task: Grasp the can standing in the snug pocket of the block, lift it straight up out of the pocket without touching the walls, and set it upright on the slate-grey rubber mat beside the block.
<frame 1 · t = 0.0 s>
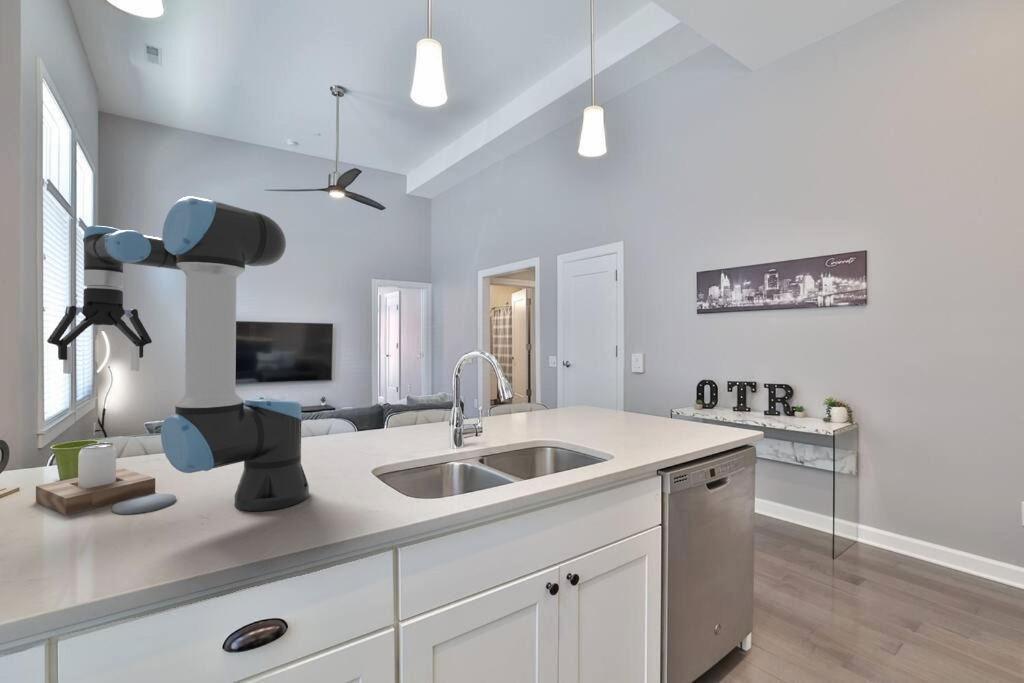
hand: (103, 372, 117), 28 cm above the worktop, fingers open, 13 cm apart
slate mat: (145, 504, 101), on the worktop
can: (97, 497, 106), resting in pocket block
plant pot: (75, 477, 121), on the worktop
pocket block: (97, 497, 106), on the worktop
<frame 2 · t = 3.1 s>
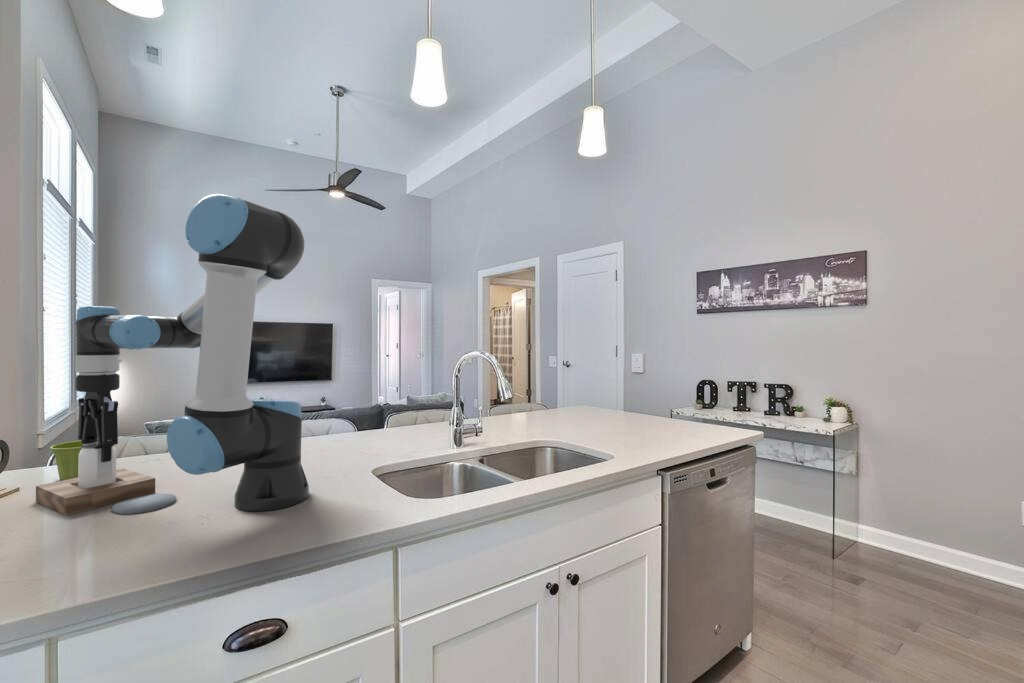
hand: (97, 473, 106), 5 cm above the worktop, fingers closed on can, 6 cm apart
can: (97, 497, 106), resting in pocket block, touching gripper
everything else where it was.
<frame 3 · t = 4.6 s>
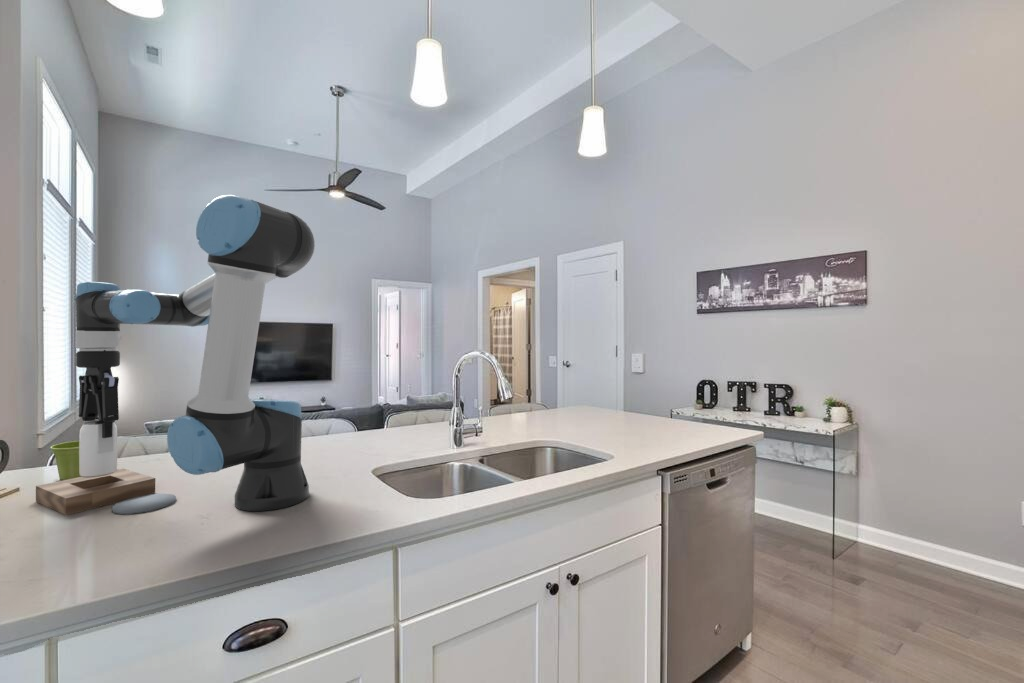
hand: (98, 449, 105), 11 cm above the worktop, fingers closed on can, 6 cm apart
can: (98, 474, 105), point 5 cm above the worktop, touching gripper
everything else where it was.
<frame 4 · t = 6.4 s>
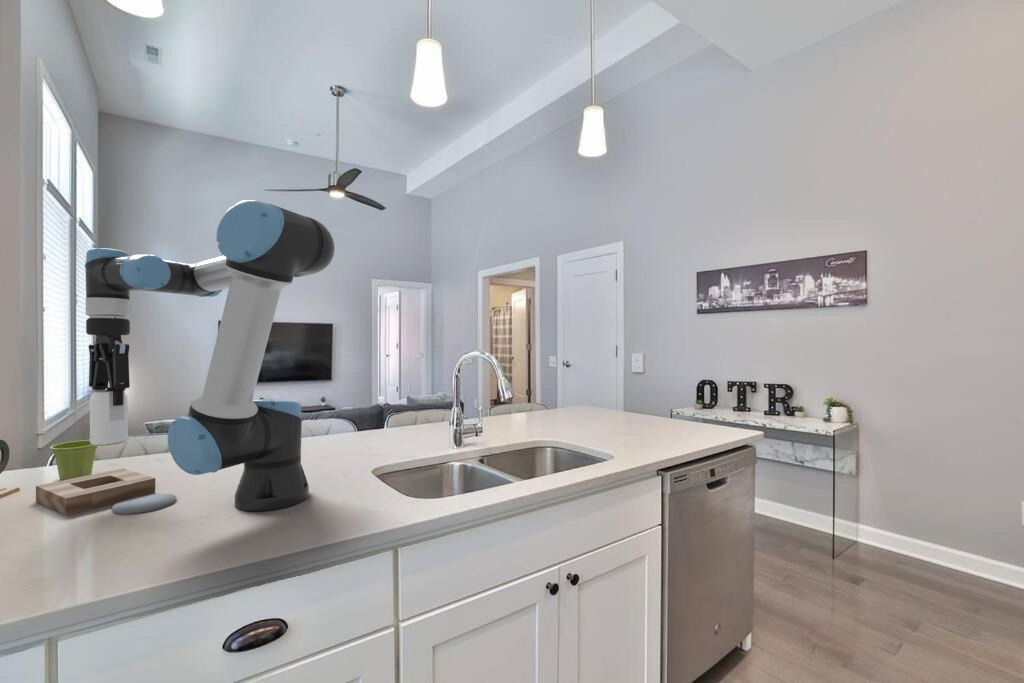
hand: (109, 418, 104), 18 cm above the worktop, fingers closed on can, 6 cm apart
can: (109, 443, 104), point 13 cm above the worktop, touching gripper
everything else where it was.
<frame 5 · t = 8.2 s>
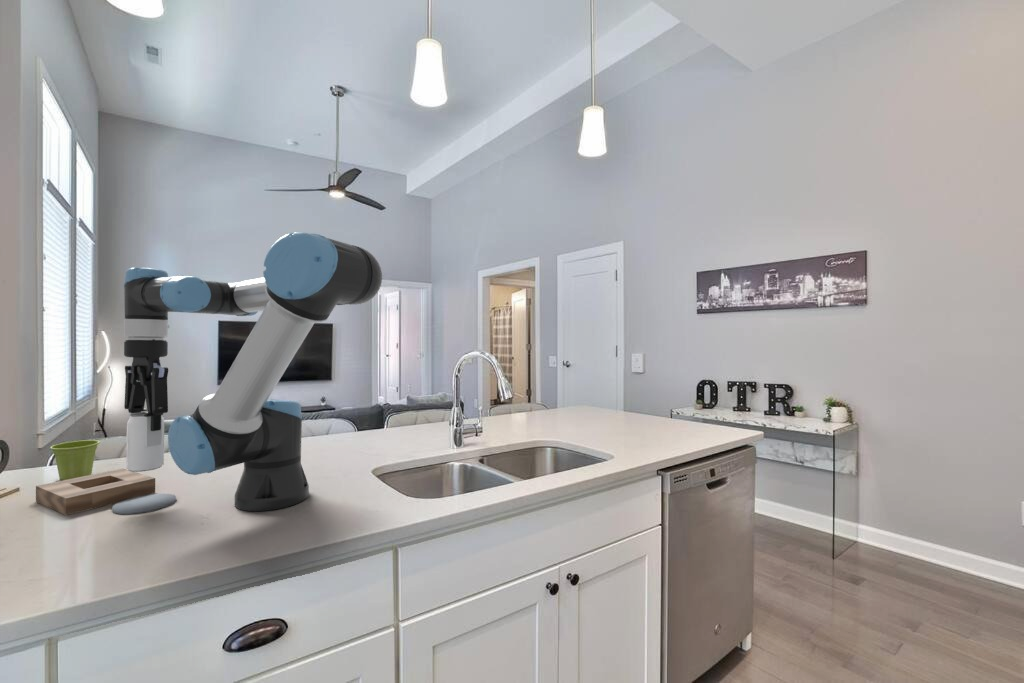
hand: (145, 443, 101), 14 cm above the worktop, fingers closed on can, 6 cm apart
can: (145, 468, 101), point 8 cm above the worktop, touching gripper
everything else where it was.
when the fingers open (7 cm above the worktop, at t = 9.6 s): can drops 1 cm, resting on slate mat.
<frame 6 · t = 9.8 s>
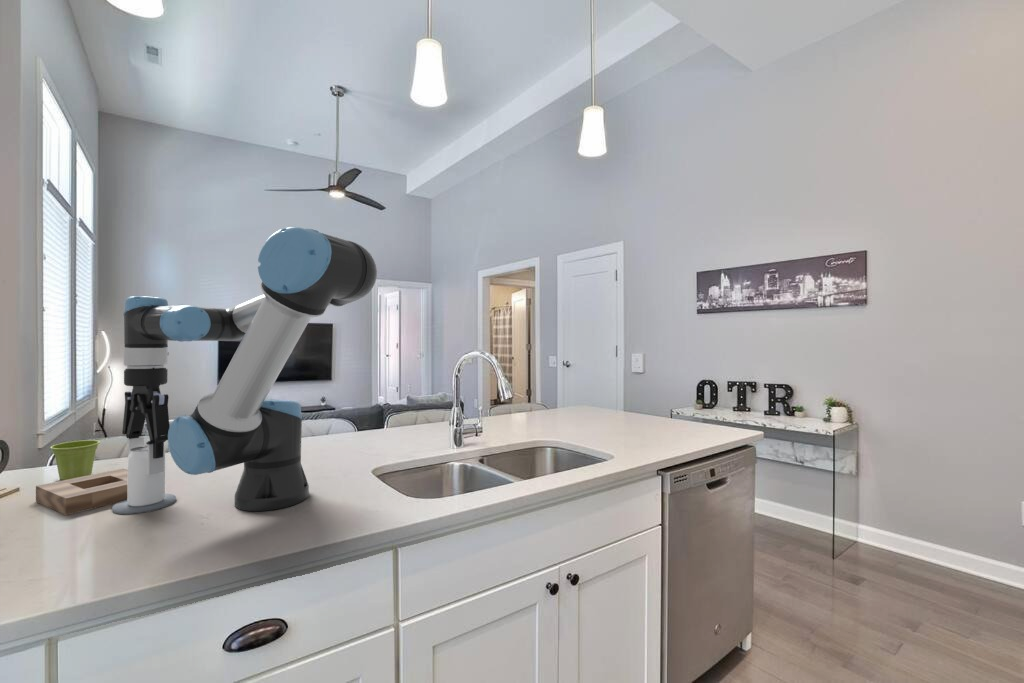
hand: (145, 469, 101), 8 cm above the worktop, fingers open, 8 cm apart
can: (146, 503, 101), resting on slate mat
everything else where it was.
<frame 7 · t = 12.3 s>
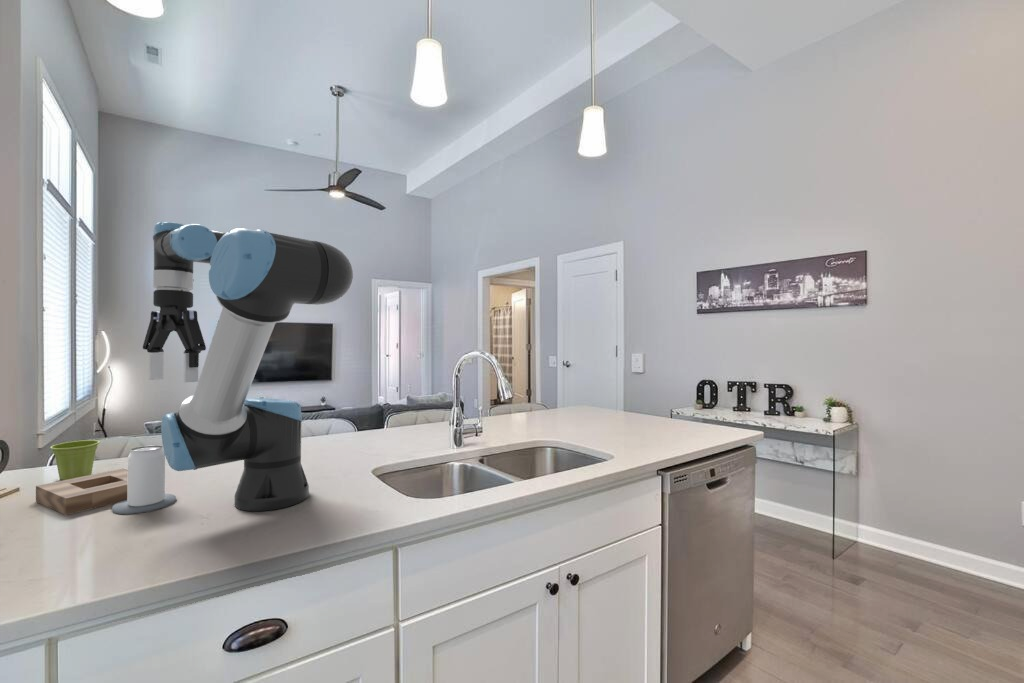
hand: (173, 380, 108), 27 cm above the worktop, fingers open, 13 cm apart
nothing on the worktop moved.
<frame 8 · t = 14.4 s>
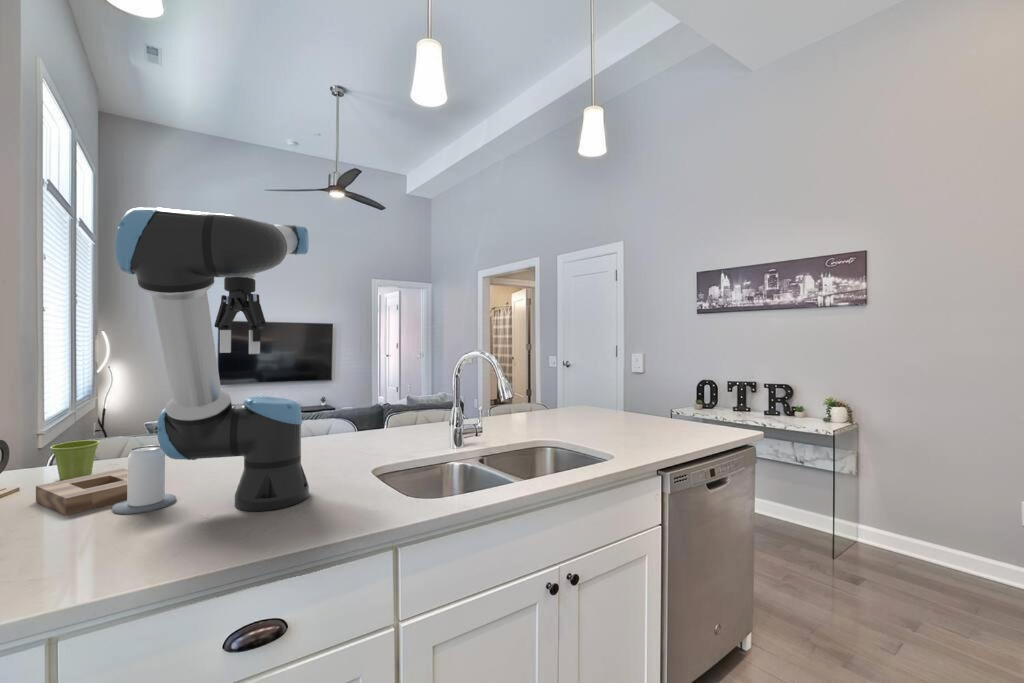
hand: (239, 353, 128), 33 cm above the worktop, fingers open, 13 cm apart
nothing on the worktop moved.
at the end: can 0.5 cm off-centre on the slate mat, point 0.4 cm above the slate mat's base; can tilted 0°; the gripper is holding nothing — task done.
